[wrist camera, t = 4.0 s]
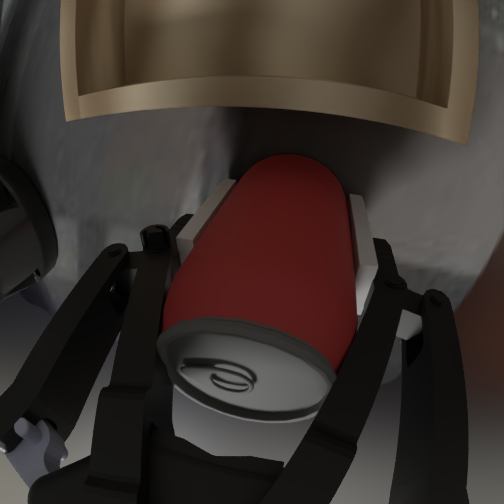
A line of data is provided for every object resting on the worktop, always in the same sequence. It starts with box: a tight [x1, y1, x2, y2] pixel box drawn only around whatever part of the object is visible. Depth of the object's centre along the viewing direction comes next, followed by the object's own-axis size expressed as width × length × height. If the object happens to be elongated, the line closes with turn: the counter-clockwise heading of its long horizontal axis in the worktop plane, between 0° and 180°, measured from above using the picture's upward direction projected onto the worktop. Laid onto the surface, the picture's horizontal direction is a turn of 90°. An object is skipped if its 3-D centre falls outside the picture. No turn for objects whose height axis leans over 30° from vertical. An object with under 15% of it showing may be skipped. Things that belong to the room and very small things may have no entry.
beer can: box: [156, 154, 358, 423], centre depth 12 cm, size 7×7×12 cm
